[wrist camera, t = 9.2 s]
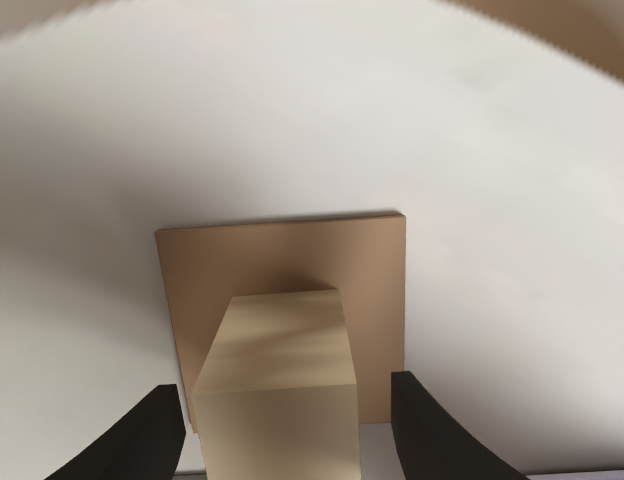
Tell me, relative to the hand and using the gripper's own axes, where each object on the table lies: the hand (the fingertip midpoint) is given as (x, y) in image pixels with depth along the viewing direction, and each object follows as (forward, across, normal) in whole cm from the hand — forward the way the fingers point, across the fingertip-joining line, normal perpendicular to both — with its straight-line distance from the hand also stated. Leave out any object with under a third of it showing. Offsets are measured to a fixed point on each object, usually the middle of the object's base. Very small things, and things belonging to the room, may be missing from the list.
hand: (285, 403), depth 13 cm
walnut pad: (+4, 0, 0) cm, 5 cm away
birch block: (+4, 0, 0) cm, 4 cm away
